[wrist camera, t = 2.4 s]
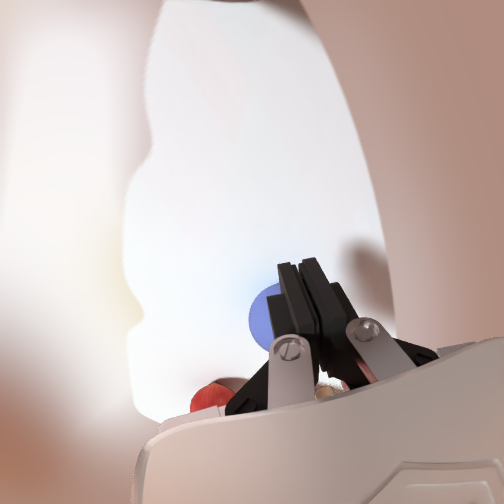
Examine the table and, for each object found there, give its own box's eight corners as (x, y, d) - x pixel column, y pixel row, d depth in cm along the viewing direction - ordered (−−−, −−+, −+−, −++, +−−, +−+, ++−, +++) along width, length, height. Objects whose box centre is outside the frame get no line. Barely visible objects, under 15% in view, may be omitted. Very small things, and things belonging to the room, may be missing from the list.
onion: (248, 378, 32) (255, 437, 25) (225, 399, 34) (228, 453, 27) (203, 364, 30) (202, 428, 23) (183, 388, 32) (181, 445, 25)
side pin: (314, 388, 35) (331, 446, 27) (332, 384, 35) (351, 440, 27) (314, 397, 36) (329, 452, 28) (331, 393, 36) (348, 447, 28)
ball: (240, 276, 24) (246, 326, 19) (310, 262, 24) (332, 308, 19) (251, 325, 27) (258, 375, 22) (312, 313, 27) (329, 360, 22)
